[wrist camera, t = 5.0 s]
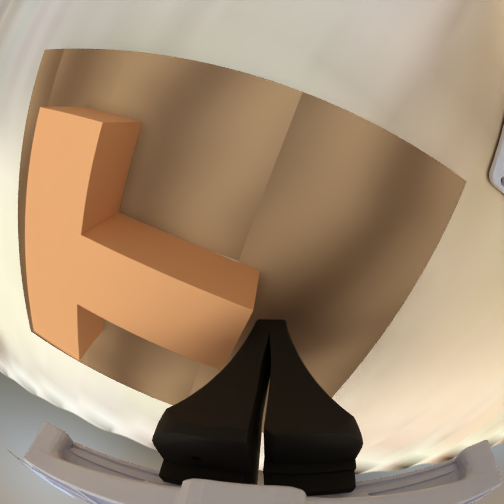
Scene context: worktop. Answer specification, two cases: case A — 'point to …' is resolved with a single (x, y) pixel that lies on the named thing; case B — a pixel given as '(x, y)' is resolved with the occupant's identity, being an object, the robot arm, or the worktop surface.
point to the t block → (118, 251)
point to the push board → (257, 204)
